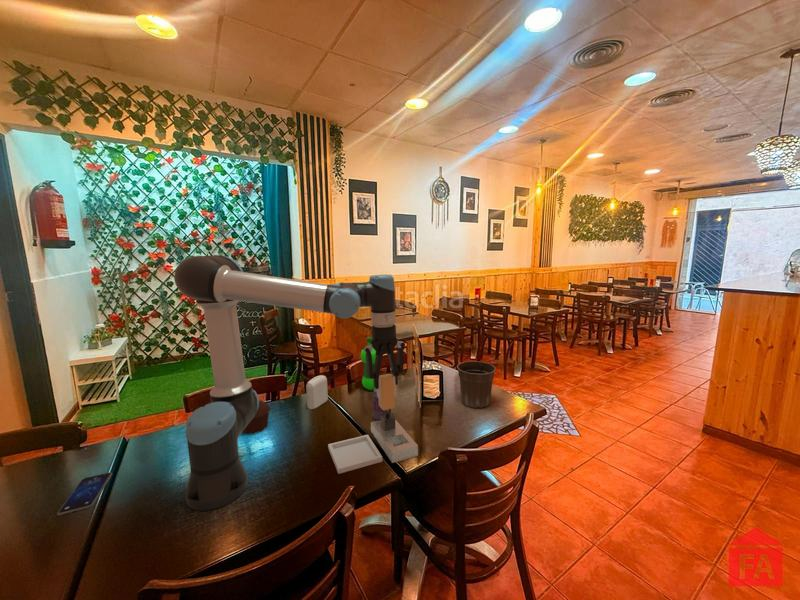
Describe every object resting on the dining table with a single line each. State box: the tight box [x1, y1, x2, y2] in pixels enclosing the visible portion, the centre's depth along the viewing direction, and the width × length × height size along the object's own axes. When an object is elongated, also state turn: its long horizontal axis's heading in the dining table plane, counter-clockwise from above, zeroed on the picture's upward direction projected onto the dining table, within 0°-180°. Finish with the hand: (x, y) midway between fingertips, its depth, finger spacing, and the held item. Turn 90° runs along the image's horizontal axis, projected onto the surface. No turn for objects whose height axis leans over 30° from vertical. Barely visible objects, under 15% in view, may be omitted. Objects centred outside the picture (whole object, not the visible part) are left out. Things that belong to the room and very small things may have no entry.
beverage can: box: [372, 389, 392, 421], centre depth 130 cm, size 7×7×12 cm
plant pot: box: [456, 360, 497, 409], centre depth 143 cm, size 16×16×16 cm
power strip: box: [370, 409, 419, 464], centre depth 113 cm, size 9×20×10 cm, turn 24°
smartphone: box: [56, 471, 113, 517], centre depth 91 cm, size 7×1×15 cm
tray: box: [327, 434, 383, 475], centre depth 107 cm, size 14×14×2 cm
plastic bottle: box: [360, 336, 381, 391], centre depth 158 cm, size 10×10×25 cm
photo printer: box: [305, 374, 329, 410], centre depth 142 cm, size 10×4×12 cm, turn 152°
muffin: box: [243, 399, 271, 434], centre depth 124 cm, size 12×11×10 cm
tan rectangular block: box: [378, 373, 396, 410], centre depth 106 cm, size 4×4×10 cm
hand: (386, 395), depth 106 cm, fingers closed on tan rectangular block, 4 cm apart
